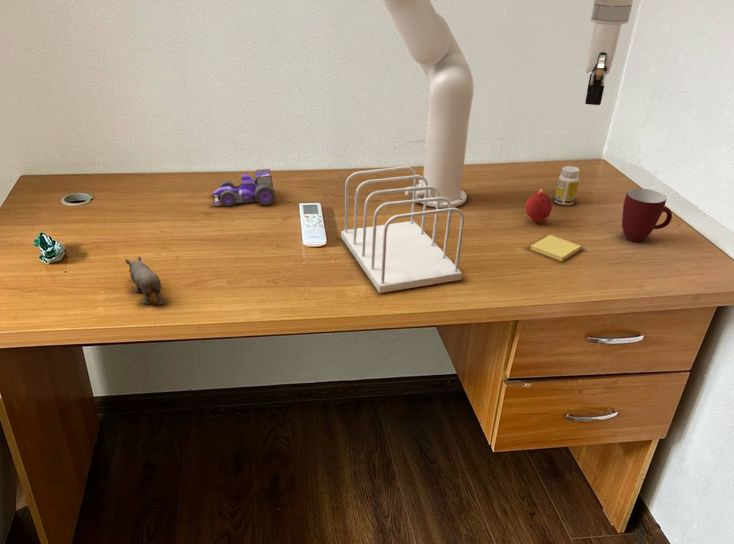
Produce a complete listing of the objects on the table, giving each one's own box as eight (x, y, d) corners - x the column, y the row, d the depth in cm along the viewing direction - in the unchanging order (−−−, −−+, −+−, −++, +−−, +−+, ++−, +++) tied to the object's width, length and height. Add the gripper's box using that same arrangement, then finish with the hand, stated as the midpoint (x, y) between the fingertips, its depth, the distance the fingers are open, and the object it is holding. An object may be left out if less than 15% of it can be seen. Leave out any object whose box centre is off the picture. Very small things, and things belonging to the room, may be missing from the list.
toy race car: (213, 194, 167) (210, 168, 163) (272, 190, 169) (271, 165, 165) (213, 209, 159) (210, 183, 156) (275, 205, 162) (274, 179, 158)
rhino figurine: (143, 273, 134) (138, 246, 130) (168, 303, 124) (163, 275, 121) (123, 278, 132) (117, 251, 128) (146, 309, 122) (141, 281, 119)
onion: (549, 219, 156) (556, 186, 151) (547, 229, 151) (554, 195, 147) (524, 215, 157) (530, 183, 153) (521, 225, 153) (527, 192, 148)
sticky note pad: (561, 261, 138) (562, 257, 138) (530, 249, 143) (530, 245, 142) (580, 250, 143) (581, 245, 142) (549, 238, 147) (549, 234, 147)
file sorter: (340, 238, 147) (341, 170, 138) (413, 228, 151) (418, 161, 142) (379, 294, 127) (382, 218, 118) (461, 281, 132) (471, 207, 122)
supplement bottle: (575, 200, 165) (582, 167, 160) (572, 207, 162) (579, 173, 157) (555, 196, 167) (562, 164, 162) (552, 203, 163) (559, 170, 158)
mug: (654, 229, 151) (667, 187, 145) (671, 245, 145) (685, 202, 139) (609, 230, 151) (620, 188, 145) (623, 246, 144) (635, 203, 138)
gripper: (593, 6, 146) (577, 87, 156) (590, 19, 133) (573, 107, 143) (629, 8, 144) (611, 90, 154) (630, 21, 131) (610, 110, 141)
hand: (593, 98), depth 148 cm, fingers open, 9 cm apart
